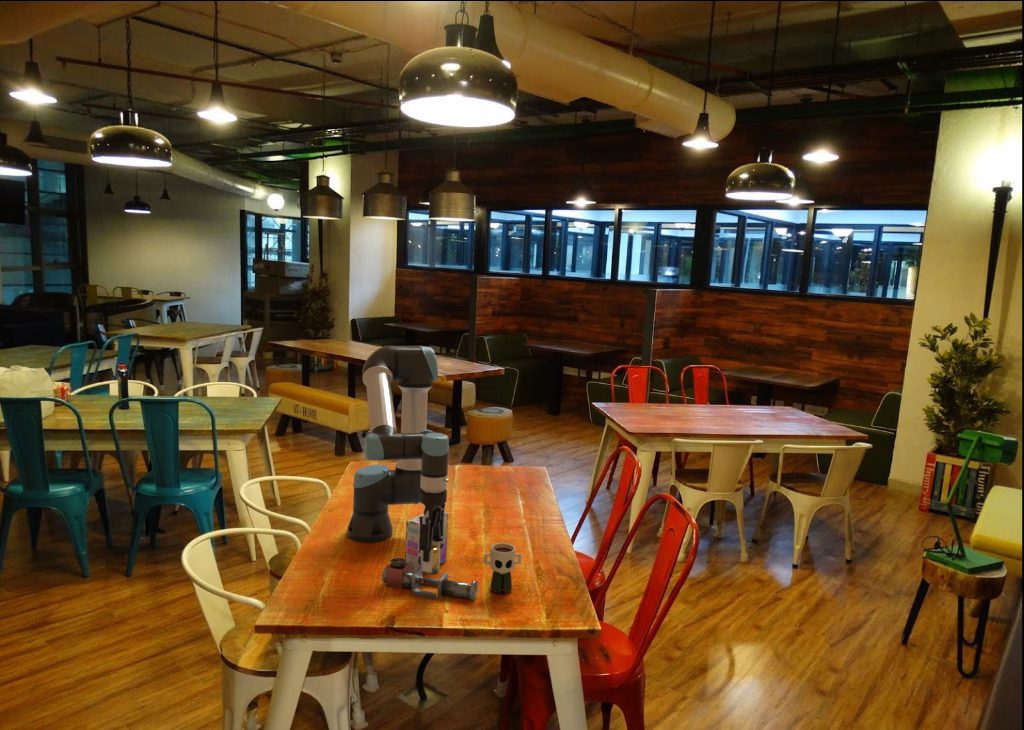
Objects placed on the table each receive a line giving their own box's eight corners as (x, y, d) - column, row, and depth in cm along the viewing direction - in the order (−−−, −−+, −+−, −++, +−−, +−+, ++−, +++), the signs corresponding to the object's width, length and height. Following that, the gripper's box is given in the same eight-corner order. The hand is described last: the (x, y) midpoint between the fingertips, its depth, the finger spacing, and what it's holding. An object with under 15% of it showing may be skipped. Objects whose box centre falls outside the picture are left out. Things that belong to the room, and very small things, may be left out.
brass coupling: (419, 573, 198) (419, 550, 197) (425, 566, 203) (426, 543, 202) (435, 576, 196) (436, 552, 195) (442, 569, 201) (442, 546, 200)
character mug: (483, 596, 199) (485, 552, 197) (481, 584, 206) (483, 542, 204) (521, 595, 201) (523, 552, 199) (517, 584, 207) (520, 542, 206)
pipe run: (379, 589, 200) (379, 565, 199) (392, 575, 208) (393, 553, 207) (469, 606, 193) (470, 581, 192) (479, 591, 201) (481, 568, 200)
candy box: (418, 577, 208) (420, 524, 206) (403, 571, 211) (405, 520, 209) (446, 561, 220) (449, 511, 217) (432, 556, 223) (434, 507, 221)
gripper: (434, 500, 186) (431, 582, 190) (457, 481, 204) (453, 557, 207) (408, 496, 188) (405, 578, 192) (433, 478, 206) (430, 553, 209)
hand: (430, 567), depth 199 cm, fingers closed on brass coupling, 5 cm apart
